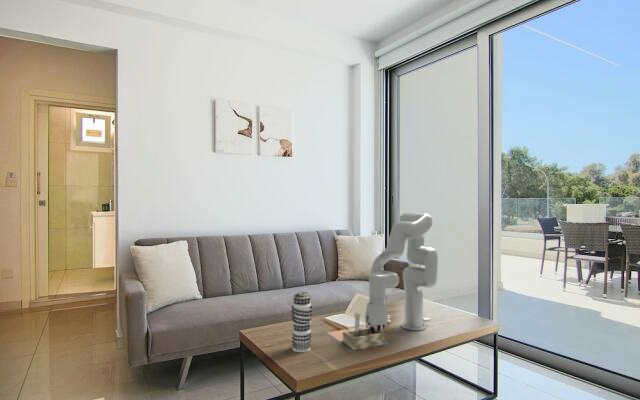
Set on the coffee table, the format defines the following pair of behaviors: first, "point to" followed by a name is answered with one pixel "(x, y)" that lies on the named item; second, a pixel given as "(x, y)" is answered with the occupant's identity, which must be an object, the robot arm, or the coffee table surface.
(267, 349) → the coffee table surface
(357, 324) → the pin stand
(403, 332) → the coffee table surface
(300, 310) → the decorative candle
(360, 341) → the open wooden box
